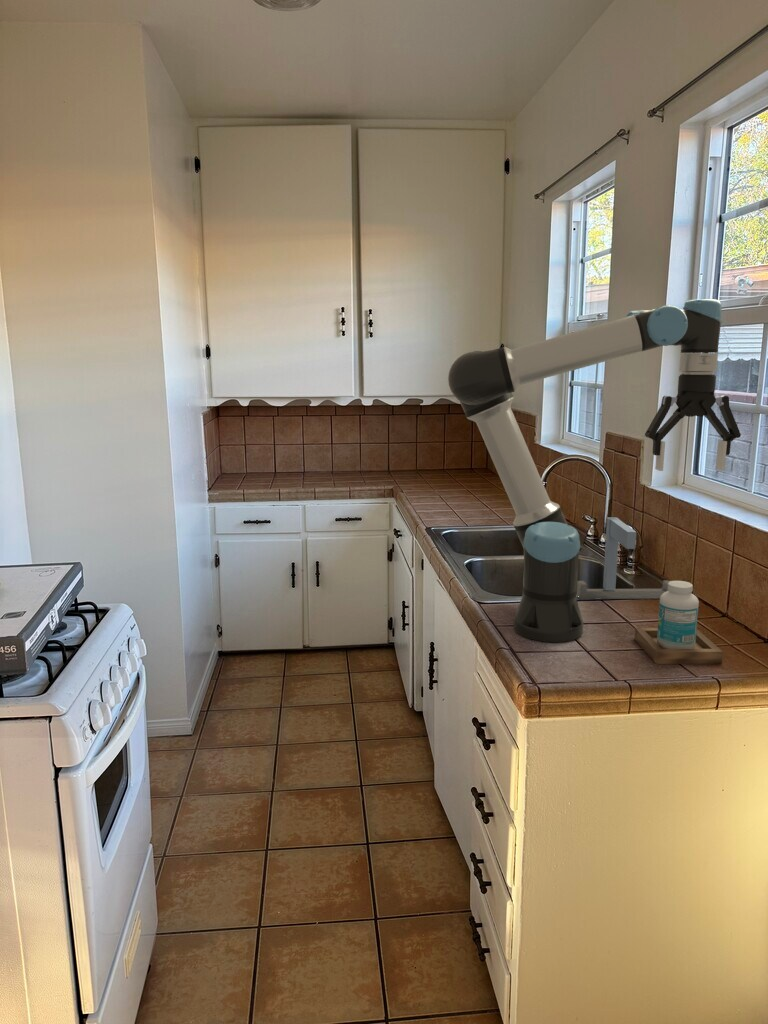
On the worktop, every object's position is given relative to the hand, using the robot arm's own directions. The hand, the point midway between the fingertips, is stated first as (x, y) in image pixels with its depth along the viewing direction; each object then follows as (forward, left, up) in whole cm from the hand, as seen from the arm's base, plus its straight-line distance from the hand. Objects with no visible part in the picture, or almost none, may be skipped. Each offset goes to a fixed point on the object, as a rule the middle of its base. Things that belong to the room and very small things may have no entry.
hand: (689, 470), depth 164 cm
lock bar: (-12, +8, -32) cm, 35 cm away
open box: (-8, -20, -35) cm, 41 cm away
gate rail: (-8, +14, -35) cm, 38 cm away
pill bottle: (-8, -20, -34) cm, 40 cm away
